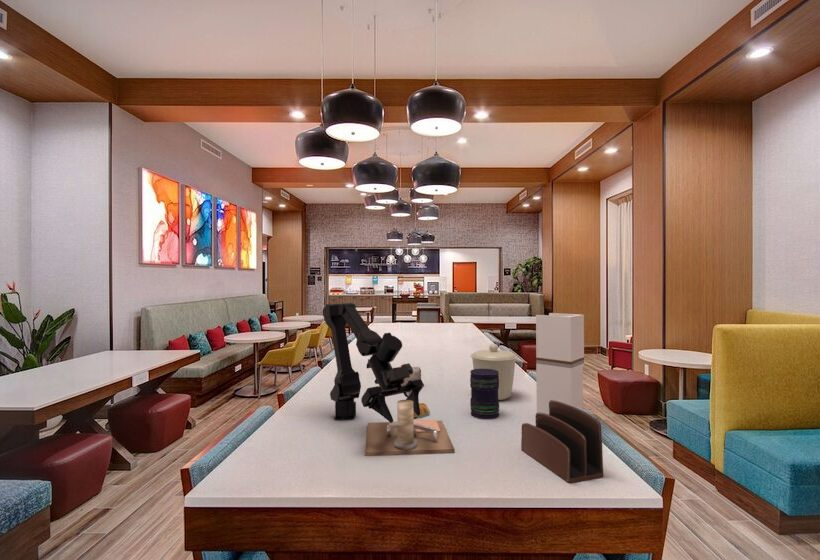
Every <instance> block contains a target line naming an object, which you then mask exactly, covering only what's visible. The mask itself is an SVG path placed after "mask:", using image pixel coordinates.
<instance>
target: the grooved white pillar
mask: <svg viewBox="0 0 820 560" xmlns="http://www.w3.org/2000/svg"><path fill="white" fill-rule="evenodd" d="M584 323H585V314H578V313H577V314H575V313H557V312H549V313H548V315H547V314H546V315H545V314H536V315H535V339H536V340H535V341H536V342H535V343H536V344H535V346H536V347H535V354H536V355H535V356H536V359H535V361H536V363H535V367H536V368H535V371H536V373H535V374H536V381H535V383H536V413H537V412H541V413H545V414H548V415H549V401H550V400H554V401H558V402H562V403H565V404H568V405H570V406H573V407H575V408H578V409H580V410H582V411H584V383H583V382H584V375H583V374H584V368H585V324H584Z"/></svg>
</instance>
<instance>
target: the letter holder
mask: <svg viewBox="0 0 820 560" xmlns="http://www.w3.org/2000/svg"><path fill="white" fill-rule="evenodd" d="M520 439H521V441H520V443H521V445H520V449H521V451H522V452H523V453H525V454H527V455H528V456H529V457H531V458H532V459H533V460H536V462H537V463H539V464H541V465H542V466H543V467H545V468H546V469H547V470H549V471H551V472H552V473H554V474H555V475H556V476H558V477H559V478H560V479H562V480H564V481H565V482H567V483H568V484H572V483H577V482H578V483H579V482H583V481H589V480H593V479H594V480H595V479H599V478H603V477H604V458H603V439H602V423H601V422H600V421H599V419H597V418H595V417H594V416H592V415H591V414H590V413H587V412H585V411H584V410H583V411H582V410H580V409H578V408H575V407H573V406H570V405H568V404H565V403H562V402H558V401H554V400H550V401H549V415H548V414H545V413H541V412H537V411H536V413H535V425H533V424H531V423H529V422H522V424H521V438H520Z"/></svg>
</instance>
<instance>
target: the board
mask: <svg viewBox="0 0 820 560" xmlns="http://www.w3.org/2000/svg"><path fill="white" fill-rule="evenodd" d="M436 421H437V423H438V426H439V428H440V432H438V433H437V442H436V443H434V442H433V433H416V436H415V437H414V438H415V439H416V440H417V447H416V448H415V449H412V450H399V449H396V448H395V447H394V440H395V439H397V438H398V428H391V437H387V425H389V424H390V422H389V421H385V422H383V421H381V422H380V421H379V422H377V421H376V422H367V427H366V435H365V436H366V437H365V438H366V439H365V448H364V456H365V457H373V456H399V455H401V456H402V455H403V456H404V454H405V455H426V454H427V455H428V454H429V455H431V454H454V453H455V447H454V444H453V443H452V440H451V438H450V435H449V433H448V431H447V429H446V427H445V424H444V422H443V420H436ZM392 423H398V422H397V421H393V422H392Z"/></svg>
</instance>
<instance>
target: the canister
mask: <svg viewBox="0 0 820 560" xmlns="http://www.w3.org/2000/svg"><path fill="white" fill-rule="evenodd" d="M470 357H471V359H472V366H473V368H472V370H473V369H493V370H497V371H498V372H499V375H498V376H499V389H498V399H499V401H505V400H507V399H509V398H510V397H511V395H512V393H513V385H514V377H515V366H516V360H517V358H518V356H517V354H514V353H513V352H511V351H507V350H503V349H499V346H498V345H497V344H496V343H490V345H489V346H488V349H481V350H477V351H474V352H473V353H471V354H470Z"/></svg>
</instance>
